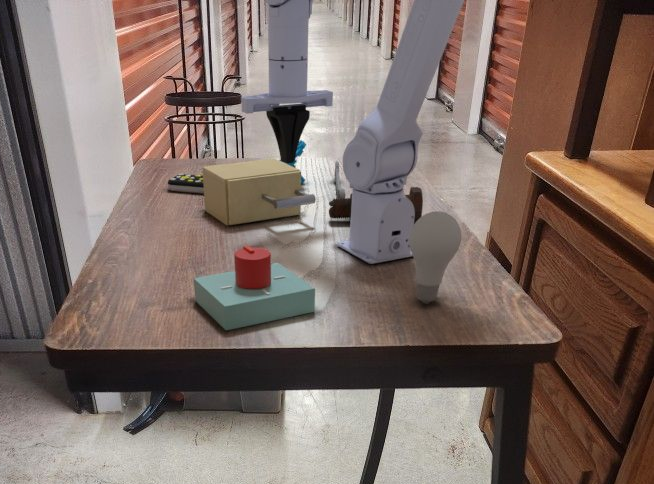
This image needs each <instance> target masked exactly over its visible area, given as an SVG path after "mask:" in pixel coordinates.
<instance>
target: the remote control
mask: <svg viewBox="0 0 654 484" xmlns="http://www.w3.org/2000/svg"><path fill="white" fill-rule="evenodd" d="M167 188H168V190H169V191H171V192H179V193H190V194H191V193H192V194H202V195H204V184H203V175H200V174H187V173H186V174H184V173H178V174H177V175H174V176H173V177H172V178H170V179H168V180H167Z"/></svg>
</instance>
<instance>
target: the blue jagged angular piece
mask: <svg viewBox="0 0 654 484" xmlns="http://www.w3.org/2000/svg"><path fill="white" fill-rule="evenodd" d="M306 146H307V143H306V142H305V141H304V140H302V139H300V140H299V143H298V147H297V151H296V155H295V160H294V163H285V164H288V165H290V166H292V167H294V168H297V166H296V165H295V164H297V158H298V157H301V156H302V155H303V153H304V149H305V148H306ZM278 160H279V161H281V158H280V159H278ZM281 162H282V161H281ZM283 163H284V162H283ZM305 182H306V179H305V177H303V175H302V174H301V185H303V184H304V183H305Z"/></svg>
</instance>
